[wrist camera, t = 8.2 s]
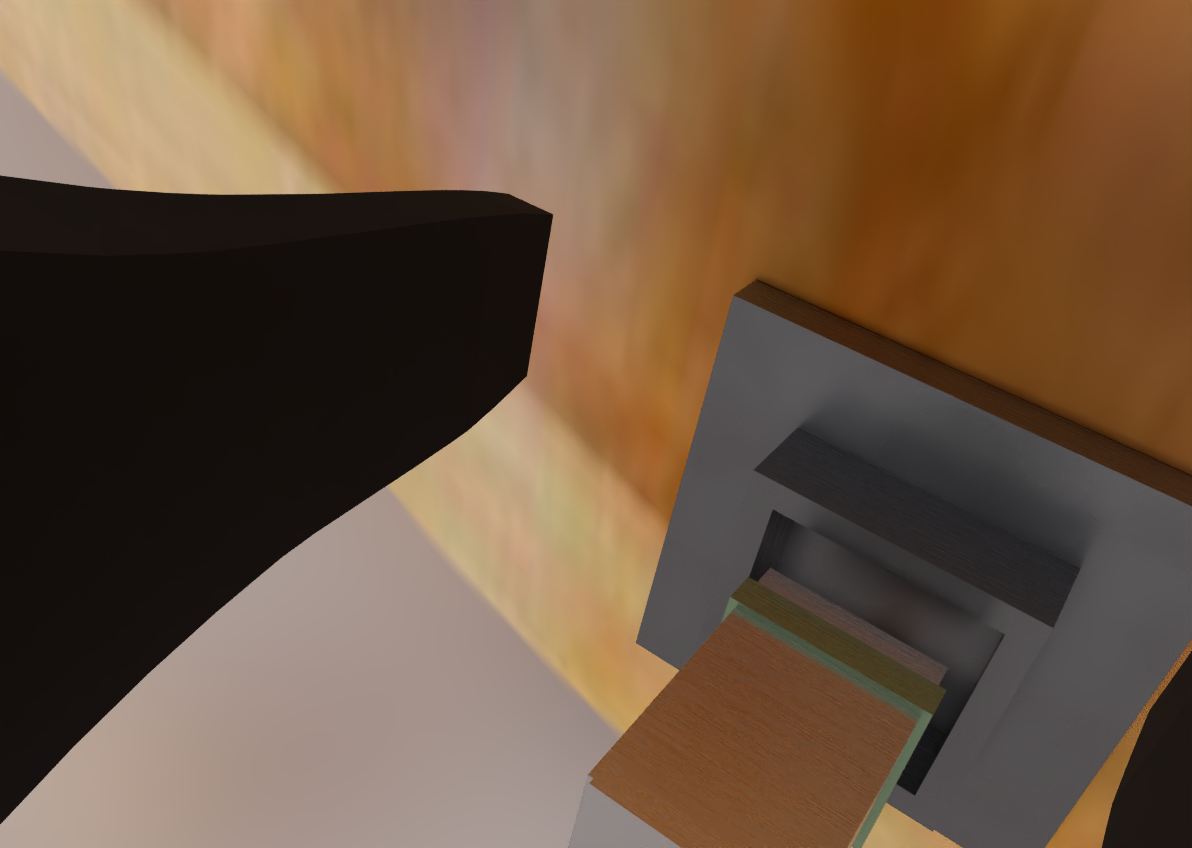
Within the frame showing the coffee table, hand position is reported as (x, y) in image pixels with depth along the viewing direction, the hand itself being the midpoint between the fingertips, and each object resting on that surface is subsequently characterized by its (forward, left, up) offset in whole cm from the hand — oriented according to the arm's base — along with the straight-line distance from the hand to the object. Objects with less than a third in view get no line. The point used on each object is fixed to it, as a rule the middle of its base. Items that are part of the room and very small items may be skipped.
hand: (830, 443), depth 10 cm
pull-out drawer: (-7, +5, -6) cm, 11 cm away
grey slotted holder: (-7, +5, -10) cm, 14 cm away
